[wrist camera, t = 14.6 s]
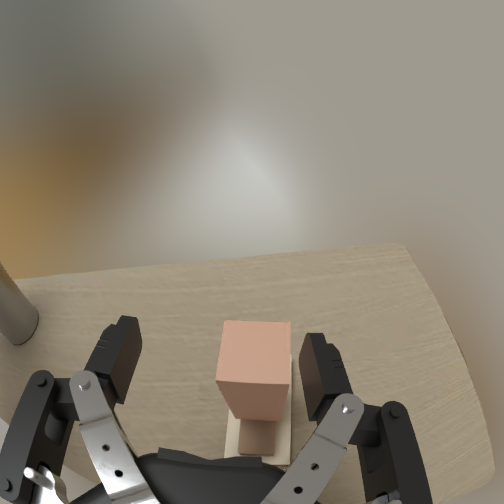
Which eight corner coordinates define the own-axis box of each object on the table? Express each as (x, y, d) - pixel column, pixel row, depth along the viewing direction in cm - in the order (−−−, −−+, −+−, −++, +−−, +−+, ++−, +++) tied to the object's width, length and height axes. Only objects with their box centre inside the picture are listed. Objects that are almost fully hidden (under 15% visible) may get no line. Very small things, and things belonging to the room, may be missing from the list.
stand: (225, 461, 23) (218, 459, 20) (236, 358, 34) (232, 341, 30) (288, 464, 23) (292, 463, 19) (290, 360, 33) (293, 342, 30)
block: (235, 418, 23) (215, 380, 15) (239, 379, 27) (224, 320, 18) (280, 421, 23) (289, 384, 15) (282, 381, 26) (290, 322, 18)
